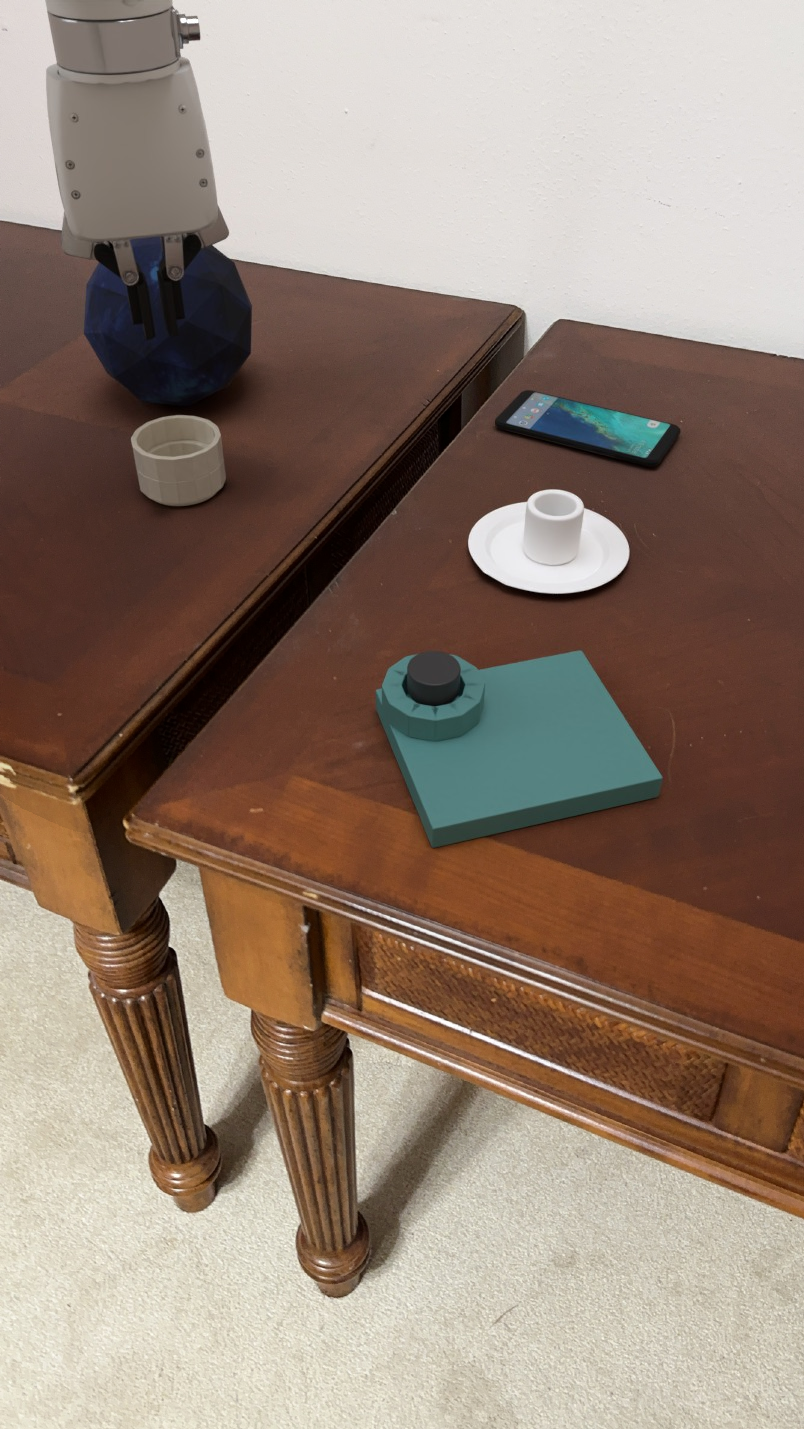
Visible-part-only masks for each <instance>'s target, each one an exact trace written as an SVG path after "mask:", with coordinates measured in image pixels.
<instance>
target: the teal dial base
mask: <svg viewBox="0 0 804 1429" xmlns="http://www.w3.org/2000/svg"><path fill="white" fill-rule="evenodd" d="M417 654H418V653H417ZM417 654H411V655H407V656H404V657H403V658H401V659H400V660H398V661H397V662H395V663H394V664H392V665H391V666H390V667H388V668H387V671H386V674H385V676H384V678H383V681H382V684H381V688H377V689H376V690H375V711H376V713H377V715H378V717H379V718H378V719H379V721H380V723H381V725H382V728H383V730H384V732H385V735H386V737H387V739H388V742H389V745H390V747H391V750H392V752H393V755H394V757H395V759H396V762H397V765H398V767H399V769H400V772H401V775H402V777H403V779H404V782H405V784H406V787H407V790H408V792H409V794H410V796H411V799H412V802H413V804H414V807H415V809H416V812H417V814H418V816H419V819H420V822H421V824H422V827H423V830H424V831H425V834H426V836H427V839H428V842H429V844H430V846H431V848H432V849H434V848H438V847H443V846H447V845H453V844H456V843H461V842H465V841H469V840H474V839H479V838H483V837H487V836H492V835H497V834H500V833H501V834H502V833H505V832H509V831H515V830H519V829H523V828H527V827H532V826H536V825H541V824H544V823H549V822H553V821H559V820H563V819H567V818H568V819H569V818H572V817H577V816H580V815H585V814H589V813H594V812H598V811H603V810H607V809H611V808H617V807H620V806H624V805H629V804H634V803H638V802H642V801H647V800H651V799H656V798H659V796H660V791H661V787H662V783H663V779H664V778H663V775H662V774H661V772H660V771H659V769H658V768H657V766H656V764H655V763H654V761H653V760H652V758H651V756H649V754H648V752H647V750H646V749H645V747H644V745H643V744H642V743H641V741H640V739H639V738H638V736H637V735H636V733H635V731H634V730H633V728H632V727H631V725H630V724H629V722H628V721H627V719H626V717H625V716H624V714H623V713H622V711H621V710H620V708H619V707H618V704H616V702H615V700H614V699H613V697H612V696H611V694H610V693H609V691H608V689H607V688H606V687H605V685H604V683H603V681H602V680H601V679H600V678H601V677H599V676H598V674H597V672H596V670H595V669H594V668H593V666H592V664H591V663H590V662H589V659H588V658H587V657H586V655H585V653H584V652H583V651H582V650H581V649H580V650H579V649H578V650H574V651H569V652H565V653H558V654H553V655H548V656H543V657H538V658H532V659H528V660H521V661H518V662H511V663H508V664H502V665H496V666H492V667H488V668H487V667H486V668H483V669H482V668H481V669H478V668H477V667H476V666H475V665H473V664H472V663H470V662H469V661H467V660H465V659H464V658H462V657H460V656H458V655H456V654H450V655H451V656H453V657H454V658H455V659H456V660H457V661H458V662H459V664H460V668H461V672H460V690H459V694H458V696H457V697H456V698H455V699H454V700H453V701H452V702H450V703H448V704H445V705H440V706H428V705H422V704H420V703H418V702H416V701H414V700H413V699H412V698H411V697H410V695H409V694H408V691H407V666H408V663H409V661H410V660H411V659H412V658H413V657H414V656H416V655H417Z"/></svg>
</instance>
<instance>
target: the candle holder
mask: <svg viewBox="0 0 804 1429" xmlns="http://www.w3.org/2000/svg"><path fill="white" fill-rule="evenodd" d="M629 545H630V544H629V543H628V540H627V537H626V536H625V534H624V533H623V531H622V530H621V529H620V528H619V527H618V526H617V525H616V524H615V523H614V522H612V521H611V520H610V519H608V518H606V517H605V516H603V515H601V514H600V513H598V512H595V511H593V510H591V509H588V508H586V507H585V505H584V502H583V501H582V499H581V497H579V496H577V495H576V494H575V493H573V492H570V491H567V490H562V489H554V488H553V489H551V488H550V489H544V490H539V491H537V492H534V493H533V494H532V495H531V496H529V498H527V501H522V502H515V503H511V504H508V505H504V506H502V507H499V508H497V509H494V510H492V511H490V512H488V513H487V514H485V515H483V516H482V517H481V518H480V519H479V520H478V521H477V522H476V523H475V524H474V525H473V526H472V528H471V530H470V531H469V535H468V540H467V546H468V551H469V553H470V556H471V558H472V559H473V561H474V563H475V564H476V565H477V567H479V569H480V570H481V571H482V573H484V574H486V575H488V576H489V577H491V578H492V579H494V580H496V581H498V582H499V583H501V584H503V585H505V586H508V587H512V588H515V589H518V590H524V591H529V592H534V593H540V594H550V595H551V594H552V595H554V594H555V595H556V594H557V595H559V594H561V595H562V594H573V593H580V592H584V591H589V590H593V589H595V588H598V587H601V586H603V585H605V584H607V583H609V582H611V581H612V580H613V579H615V578H617V577H618V575H620V574H621V573H622V571H624V569H625V567H626V566H627V564H628V561H629V560H630V547H629Z"/></svg>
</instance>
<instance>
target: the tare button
mask: <svg viewBox="0 0 804 1429" xmlns="http://www.w3.org/2000/svg"><path fill="white" fill-rule="evenodd" d="M451 655H452V654H450V653H447V652H444V651H440V650H427V651H426V650H425V651H422V652H420V653H417V655H416V656H414V657H413V658H412V659H411V660H410V661H409V663H408V666H407V691H408V694H409V695H410V697H411V698H412V699H413V700H414V701H416V702H418V703H420V704H422V705H428V706H440V705H445V704H448V703H450V702H452V701H453V700H454V699H455V698H456V697H457V696H458V694H459V690H460V672H461V668H460V664H459V662H458V661H457V660H456V659H455V658H454V657H453V656H451Z"/></svg>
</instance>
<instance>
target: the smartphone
mask: <svg viewBox="0 0 804 1429" xmlns="http://www.w3.org/2000/svg"><path fill="white" fill-rule="evenodd" d="M494 426H495V427H496V428H497V429H499V430H502V431H507V432H511V433H514V434H518V435H522V436H527V437H530V438H534V439H539V440H543V441H546V442H549V443H554V444H558V445H562V446H566V447H570V448H572V449H573V448H574V449H578V450H581V451H585V452H589V453H594V454H597V455H601V456H604V457H605V456H606V457H610V458H612V459H617V460H621V461H625V462H629V463H632V464H635V465H636V464H637V465H641V466H645V467H648V468H649V467H651V468H653V467H656V466H658V465H659V464H660V463H661V462H662V460H663V459H664V457H665V456H666V454H667V453H668V452H669V450H670V449H671V447H672V446H673V445H674V443H675V442H676V440H677V439H678V437H679V436H680V434H681V428H680V426H679V425H677V424H673V423H669V422H665V421H662V420H658V419H653V418H649V417H645V416H641V415H637V414H633V413H629V412H624V411H621V410H615V409H611V408H607V407H602V406H598V405H594V404H590V403H586V402H582V401H578V400H574V399H569V398H566V397H561V396H556V395H552V394H549V393H544V392H540V391H535V390H531V389H526V390H523V391H521V392H520V393H519V394H518V395H517V396H516V397H515V398H514V399H513V400H512V401H511V402H510V403H509V404H508V406H506V407H505V408H504V409H503V411H501V413H499V414H498V416H497V417H496V418H494Z"/></svg>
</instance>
